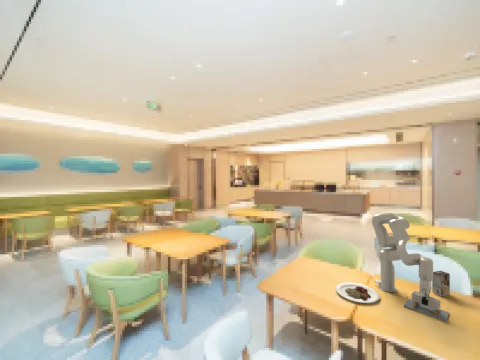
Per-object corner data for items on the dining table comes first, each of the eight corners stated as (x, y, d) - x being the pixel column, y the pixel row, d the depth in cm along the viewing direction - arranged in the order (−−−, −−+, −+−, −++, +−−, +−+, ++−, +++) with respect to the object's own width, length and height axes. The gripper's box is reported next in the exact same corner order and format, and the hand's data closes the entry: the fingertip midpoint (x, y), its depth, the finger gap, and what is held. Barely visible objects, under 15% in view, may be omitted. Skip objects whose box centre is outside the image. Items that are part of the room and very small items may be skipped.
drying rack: (403, 306, 156) (403, 302, 156) (407, 300, 164) (407, 296, 164) (446, 321, 140) (446, 317, 140) (448, 313, 148) (449, 309, 148)
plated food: (334, 299, 168) (333, 294, 168) (337, 281, 194) (337, 277, 194) (381, 309, 154) (381, 304, 154) (378, 289, 181) (377, 285, 180)
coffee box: (440, 290, 176) (440, 270, 176) (450, 294, 170) (450, 273, 169) (431, 292, 174) (431, 271, 173) (441, 296, 167) (441, 275, 167)
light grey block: (411, 300, 156) (411, 293, 156) (414, 297, 159) (414, 290, 159) (437, 310, 145) (437, 302, 144) (440, 307, 147) (440, 300, 147)
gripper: (421, 270, 160) (421, 295, 160) (415, 278, 148) (415, 305, 149) (435, 274, 154) (434, 300, 155) (430, 282, 143) (430, 310, 143)
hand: (425, 302), depth 152 cm, fingers closed on light grey block, 5 cm apart
